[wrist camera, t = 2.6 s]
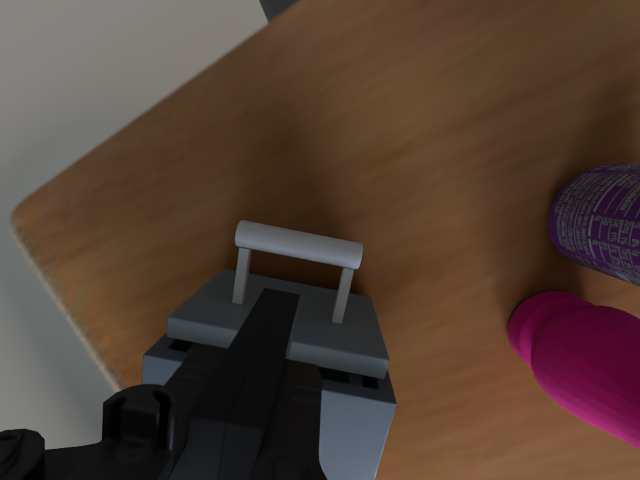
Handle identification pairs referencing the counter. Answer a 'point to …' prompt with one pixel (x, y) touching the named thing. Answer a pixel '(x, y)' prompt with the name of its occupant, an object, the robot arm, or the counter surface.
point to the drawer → (313, 311)
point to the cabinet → (336, 413)
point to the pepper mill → (583, 358)
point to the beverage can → (600, 220)
